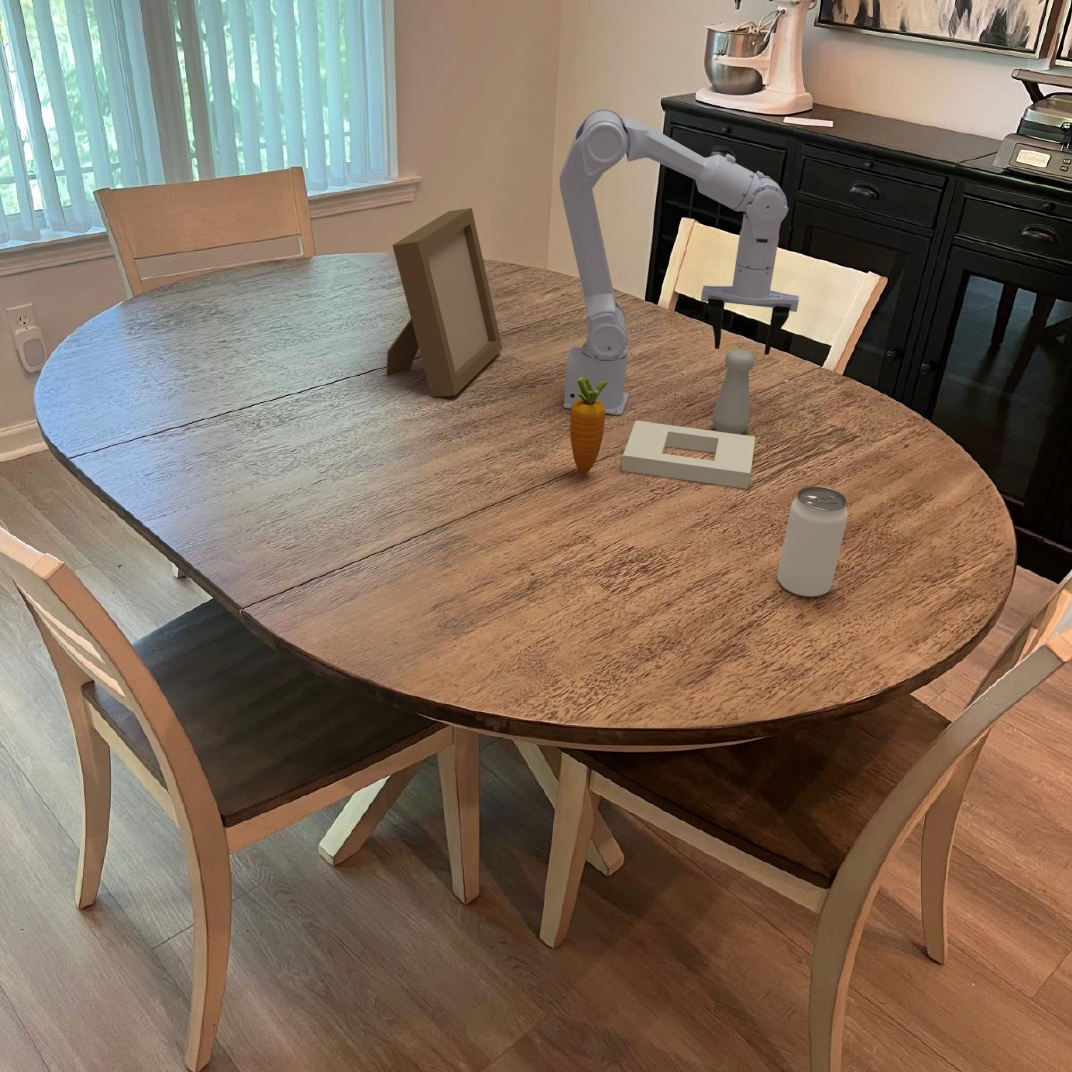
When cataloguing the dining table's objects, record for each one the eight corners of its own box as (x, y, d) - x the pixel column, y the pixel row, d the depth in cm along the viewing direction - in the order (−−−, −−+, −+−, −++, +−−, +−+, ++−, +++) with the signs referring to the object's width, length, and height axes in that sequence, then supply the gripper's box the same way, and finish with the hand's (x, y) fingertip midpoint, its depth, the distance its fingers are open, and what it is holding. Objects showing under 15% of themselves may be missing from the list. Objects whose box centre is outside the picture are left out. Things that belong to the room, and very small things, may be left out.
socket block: (621, 470, 148) (623, 455, 147) (634, 435, 158) (635, 420, 157) (748, 489, 145) (750, 473, 143) (752, 451, 155) (755, 436, 153)
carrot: (604, 471, 148) (613, 373, 140) (595, 486, 144) (603, 387, 136) (571, 464, 149) (578, 367, 141) (561, 479, 145) (567, 380, 137)
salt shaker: (747, 441, 158) (760, 361, 151) (709, 437, 158) (720, 357, 152) (748, 425, 162) (760, 347, 156) (711, 421, 163) (722, 343, 156)
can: (770, 569, 127) (786, 484, 121) (821, 568, 128) (839, 483, 122) (785, 599, 122) (803, 512, 116) (838, 598, 123) (858, 511, 116)
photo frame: (502, 354, 184) (503, 211, 170) (455, 400, 166) (452, 246, 153) (426, 342, 188) (421, 202, 174) (372, 387, 170) (362, 234, 157)
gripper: (804, 261, 157) (789, 346, 164) (708, 251, 159) (698, 335, 166) (804, 275, 151) (788, 362, 158) (704, 264, 153) (693, 350, 160)
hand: (741, 349), depth 162 cm, fingers open, 7 cm apart
